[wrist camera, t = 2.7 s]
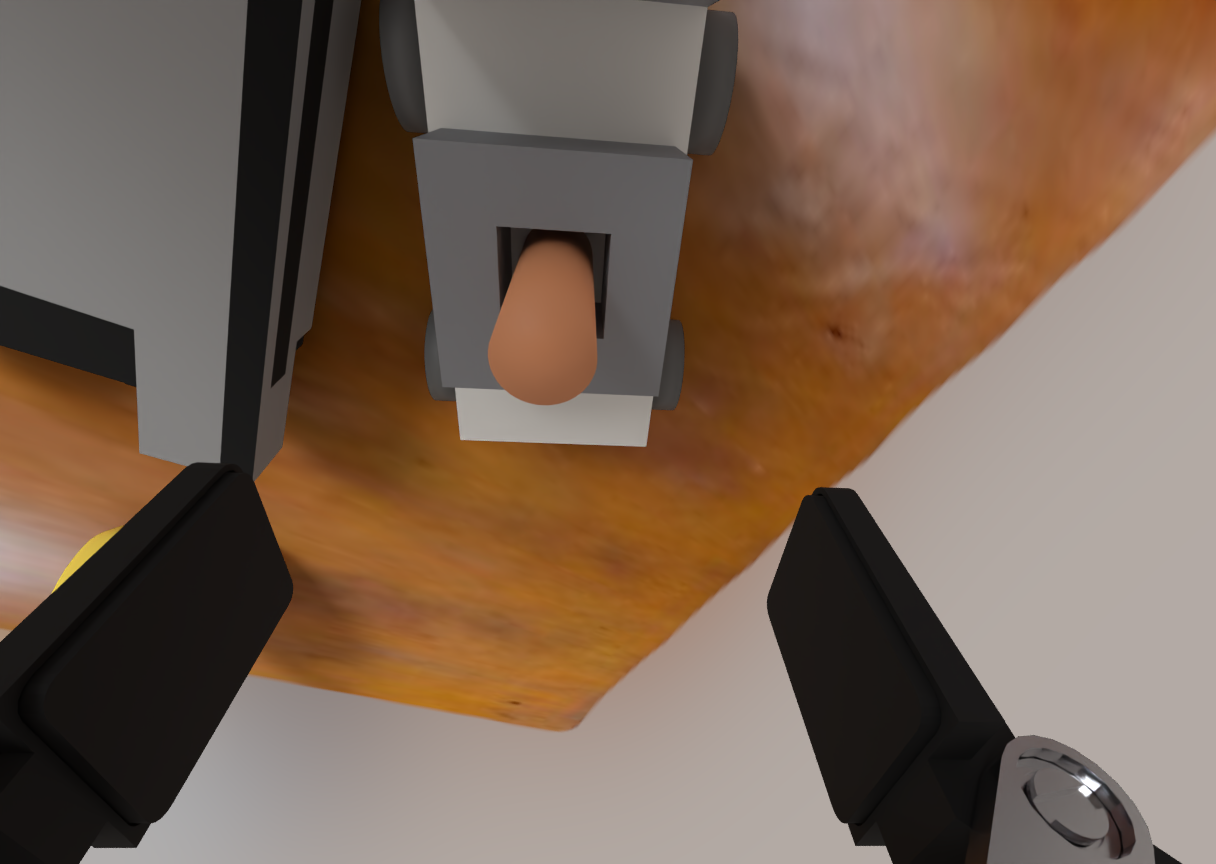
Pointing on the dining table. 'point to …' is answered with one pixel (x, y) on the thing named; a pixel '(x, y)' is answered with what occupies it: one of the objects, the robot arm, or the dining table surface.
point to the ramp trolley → (557, 184)
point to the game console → (172, 202)
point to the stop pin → (547, 321)
